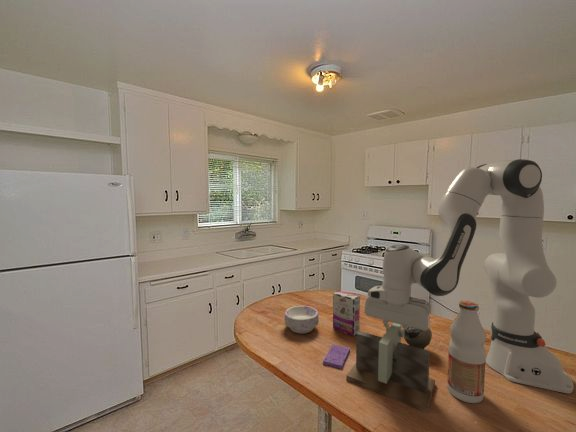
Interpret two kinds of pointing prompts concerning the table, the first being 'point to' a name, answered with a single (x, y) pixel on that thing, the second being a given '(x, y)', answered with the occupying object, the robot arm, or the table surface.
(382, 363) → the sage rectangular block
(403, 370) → the slotted stand
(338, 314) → the candy bar box
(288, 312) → the white patterned bowl
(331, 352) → the sponges
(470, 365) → the fruit juice
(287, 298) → the table surface
